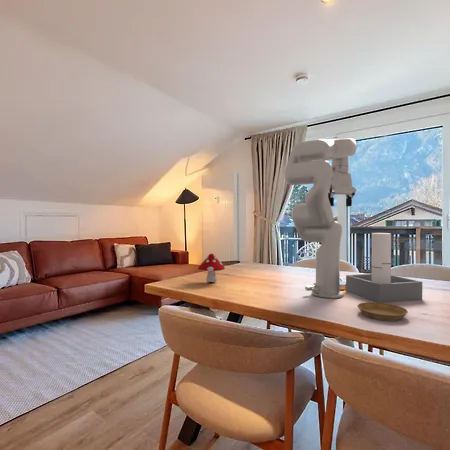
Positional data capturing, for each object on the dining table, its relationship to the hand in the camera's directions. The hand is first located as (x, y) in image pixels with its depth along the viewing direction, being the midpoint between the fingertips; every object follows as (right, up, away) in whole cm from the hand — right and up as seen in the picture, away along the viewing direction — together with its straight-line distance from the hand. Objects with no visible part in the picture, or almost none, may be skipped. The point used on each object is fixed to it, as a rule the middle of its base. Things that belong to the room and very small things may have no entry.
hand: (340, 206), depth 141 cm
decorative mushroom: (-62, -39, +8) cm, 74 cm away
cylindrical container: (+10, -38, -17) cm, 43 cm away
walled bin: (+11, -39, -17) cm, 44 cm away
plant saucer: (-3, -40, -44) cm, 59 cm away
